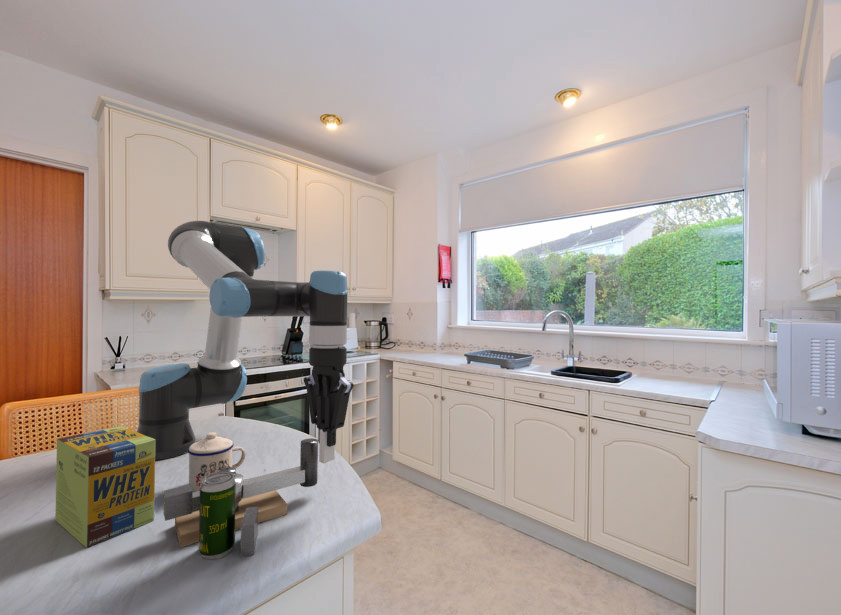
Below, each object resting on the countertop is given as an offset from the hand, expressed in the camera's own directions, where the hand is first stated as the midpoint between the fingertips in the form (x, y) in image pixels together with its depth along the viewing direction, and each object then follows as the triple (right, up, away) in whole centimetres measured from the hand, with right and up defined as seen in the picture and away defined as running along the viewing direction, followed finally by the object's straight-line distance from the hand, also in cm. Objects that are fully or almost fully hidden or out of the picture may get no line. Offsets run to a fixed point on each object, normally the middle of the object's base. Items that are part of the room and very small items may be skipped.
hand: (326, 460), depth 80 cm
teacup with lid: (-27, -9, +9) cm, 30 cm away
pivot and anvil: (-13, -9, -10) cm, 19 cm away
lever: (-14, -6, -4) cm, 16 cm away
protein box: (-40, -9, -7) cm, 42 cm away
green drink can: (-15, -9, -15) cm, 23 cm away
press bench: (-17, -9, -6) cm, 21 cm away
